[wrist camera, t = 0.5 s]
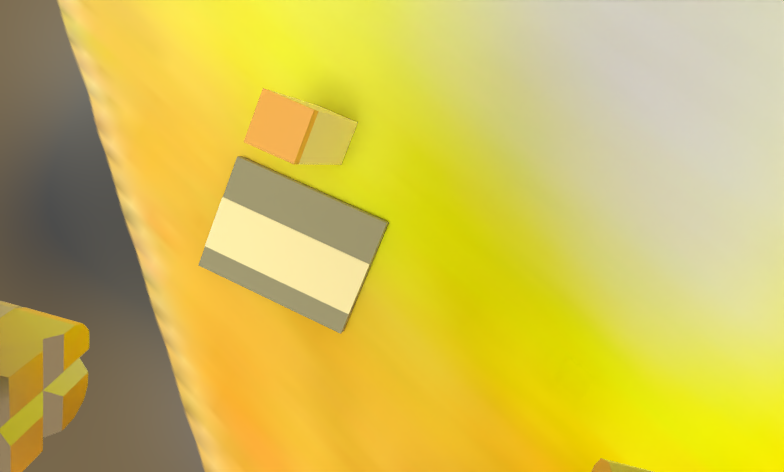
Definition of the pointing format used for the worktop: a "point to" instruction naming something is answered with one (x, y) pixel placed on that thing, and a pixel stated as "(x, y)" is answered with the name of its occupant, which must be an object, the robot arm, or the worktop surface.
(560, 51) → the worktop surface
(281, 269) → the board
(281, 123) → the orange-capped beige pillar
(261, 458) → the worktop surface
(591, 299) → the worktop surface
